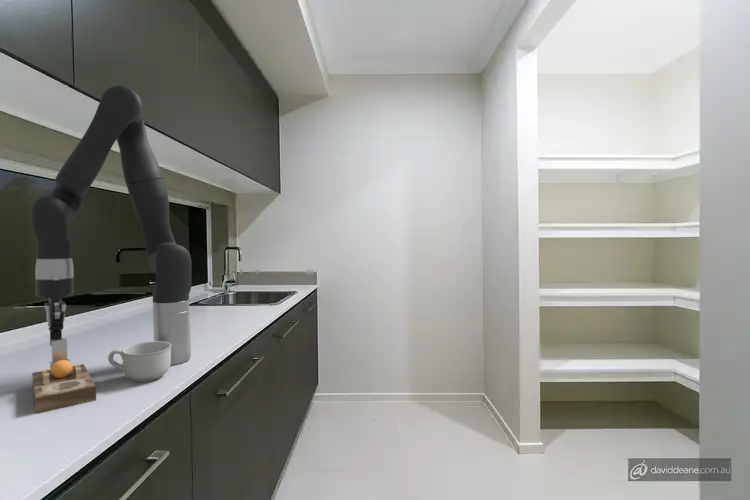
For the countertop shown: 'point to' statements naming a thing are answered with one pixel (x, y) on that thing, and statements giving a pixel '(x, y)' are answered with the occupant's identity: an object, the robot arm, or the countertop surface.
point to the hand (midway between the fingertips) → (56, 345)
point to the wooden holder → (62, 389)
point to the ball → (61, 369)
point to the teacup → (144, 360)
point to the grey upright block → (58, 351)
